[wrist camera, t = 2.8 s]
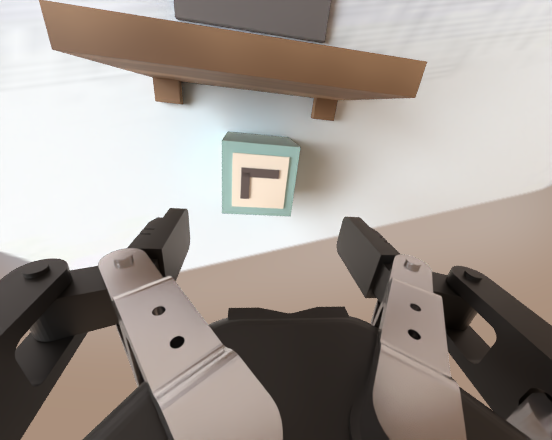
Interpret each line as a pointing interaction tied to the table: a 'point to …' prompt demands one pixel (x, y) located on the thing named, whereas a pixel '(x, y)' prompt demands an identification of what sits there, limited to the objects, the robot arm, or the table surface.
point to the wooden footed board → (228, 58)
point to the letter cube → (258, 174)
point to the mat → (261, 16)
